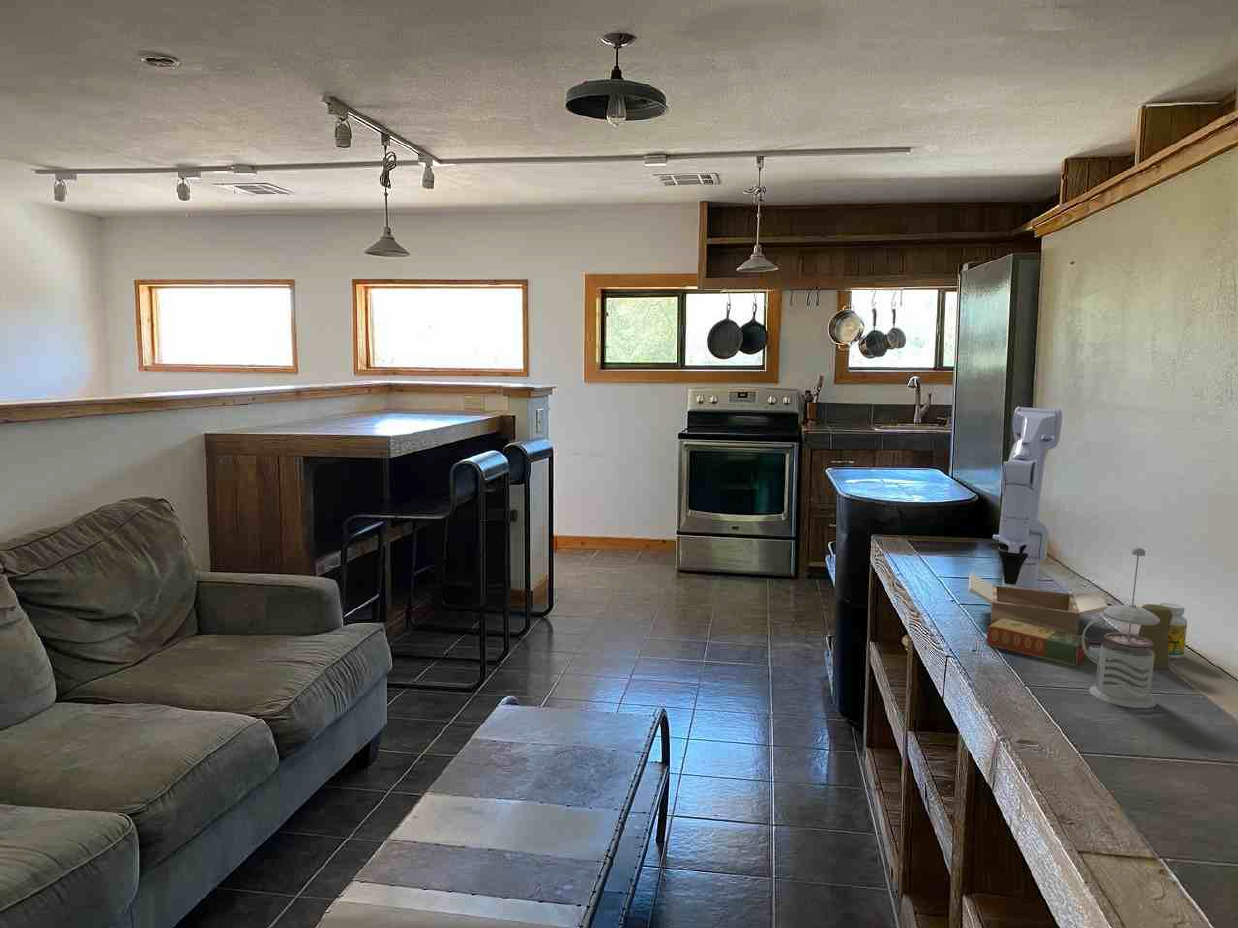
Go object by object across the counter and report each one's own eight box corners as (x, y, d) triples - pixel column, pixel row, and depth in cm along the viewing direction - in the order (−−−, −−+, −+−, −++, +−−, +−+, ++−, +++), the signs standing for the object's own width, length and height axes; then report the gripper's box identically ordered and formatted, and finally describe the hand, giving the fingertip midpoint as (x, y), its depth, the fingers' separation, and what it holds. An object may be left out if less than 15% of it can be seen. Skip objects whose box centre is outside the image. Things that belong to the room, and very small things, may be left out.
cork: (1155, 671, 162) (1163, 611, 160) (1123, 660, 167) (1130, 602, 165) (1176, 667, 164) (1183, 608, 163) (1144, 656, 170) (1150, 599, 168)
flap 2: (1098, 589, 191) (1099, 592, 191) (1073, 594, 193) (1074, 598, 193) (1107, 606, 178) (1108, 610, 178) (1079, 612, 180) (1081, 615, 180)
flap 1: (992, 584, 199) (990, 587, 199) (971, 572, 201) (969, 575, 201) (993, 600, 185) (990, 604, 186) (970, 587, 187) (968, 591, 187)
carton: (1000, 637, 179) (1002, 616, 179) (1088, 657, 169) (1091, 635, 168) (985, 646, 173) (987, 624, 173) (1076, 668, 163) (1078, 645, 162)
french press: (1155, 713, 142) (1174, 557, 139) (1073, 695, 148) (1089, 546, 145) (1157, 694, 150) (1175, 547, 147) (1079, 678, 156) (1095, 537, 153)
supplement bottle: (1184, 654, 172) (1190, 605, 171) (1182, 661, 168) (1188, 611, 167) (1152, 647, 175) (1157, 599, 174) (1148, 654, 171) (1154, 605, 170)
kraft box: (990, 606, 200) (992, 584, 200) (1070, 616, 194) (1072, 594, 194) (990, 625, 186) (993, 602, 185) (1077, 637, 180) (1080, 613, 179)
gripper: (994, 509, 197) (988, 570, 199) (995, 520, 184) (989, 585, 186) (1029, 512, 195) (1023, 574, 196) (1033, 524, 181) (1026, 589, 183)
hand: (1009, 579), depth 191 cm, fingers open, 7 cm apart
